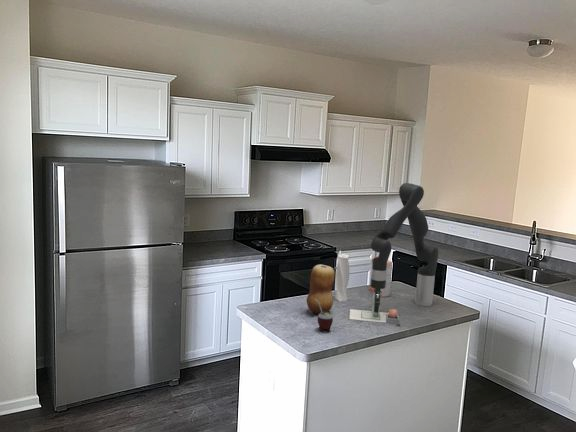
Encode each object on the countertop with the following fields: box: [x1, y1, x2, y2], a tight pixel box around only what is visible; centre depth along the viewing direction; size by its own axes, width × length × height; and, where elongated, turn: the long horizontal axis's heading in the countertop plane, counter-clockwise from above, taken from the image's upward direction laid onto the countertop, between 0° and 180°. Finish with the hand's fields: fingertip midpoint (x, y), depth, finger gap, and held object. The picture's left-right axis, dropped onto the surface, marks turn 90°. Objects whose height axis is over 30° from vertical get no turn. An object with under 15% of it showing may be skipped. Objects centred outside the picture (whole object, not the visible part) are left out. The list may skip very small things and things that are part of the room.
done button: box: [388, 308, 398, 318], centre depth 233 cm, size 4×4×3 cm
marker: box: [371, 295, 381, 317], centre depth 240 cm, size 4×4×10 cm
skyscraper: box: [334, 250, 351, 302], centre depth 262 cm, size 8×7×28 cm
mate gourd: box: [314, 299, 334, 333], centre depth 220 cm, size 8×8×15 cm
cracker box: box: [369, 256, 394, 298], centre depth 280 cm, size 14×6×21 cm, turn 21°
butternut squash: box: [305, 264, 336, 315], centre depth 241 cm, size 14×13×25 cm
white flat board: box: [348, 308, 401, 327], centre depth 240 cm, size 16×25×3 cm, turn 81°
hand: (376, 310), depth 240 cm, fingers open, 6 cm apart
